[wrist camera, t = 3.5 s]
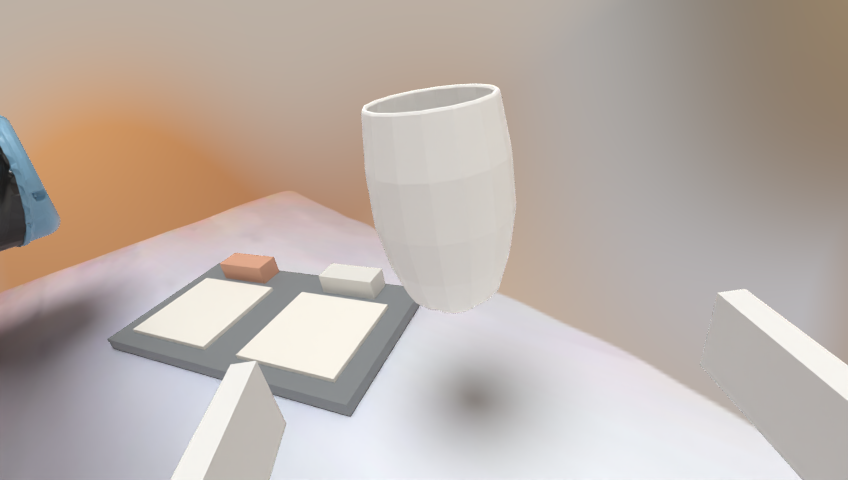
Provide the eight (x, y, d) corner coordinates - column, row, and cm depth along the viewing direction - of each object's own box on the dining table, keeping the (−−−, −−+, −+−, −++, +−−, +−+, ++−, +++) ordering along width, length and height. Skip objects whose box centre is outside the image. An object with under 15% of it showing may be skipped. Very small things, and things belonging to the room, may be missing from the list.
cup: (398, 432, 27) (314, 119, 17) (446, 357, 32) (403, 86, 22) (502, 478, 23) (471, 114, 13) (536, 385, 28) (533, 76, 19)
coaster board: (113, 348, 39) (96, 323, 38) (222, 271, 50) (213, 249, 49) (350, 416, 28) (339, 385, 27) (424, 298, 39) (419, 271, 38)
